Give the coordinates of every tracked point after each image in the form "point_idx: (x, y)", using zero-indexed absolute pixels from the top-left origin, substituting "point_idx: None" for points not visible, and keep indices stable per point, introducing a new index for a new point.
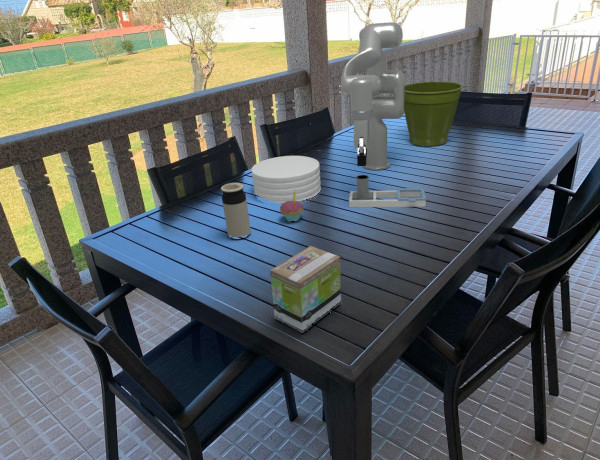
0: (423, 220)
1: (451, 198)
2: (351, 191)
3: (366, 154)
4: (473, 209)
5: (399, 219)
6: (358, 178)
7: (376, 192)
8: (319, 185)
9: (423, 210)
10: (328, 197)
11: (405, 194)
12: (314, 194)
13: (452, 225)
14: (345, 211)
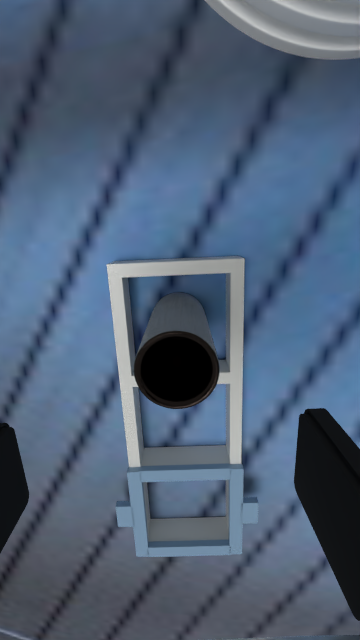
0: (30, 515)
1: (212, 591)
2: (241, 264)
3: (318, 522)
4: (129, 628)
5: (24, 451)
6: (143, 346)
7: (229, 383)
8: (341, 27)
9: (109, 519)
10: (239, 130)
11: (227, 482)
12: (255, 21)
13: (10, 577)
14: (66, 247)
